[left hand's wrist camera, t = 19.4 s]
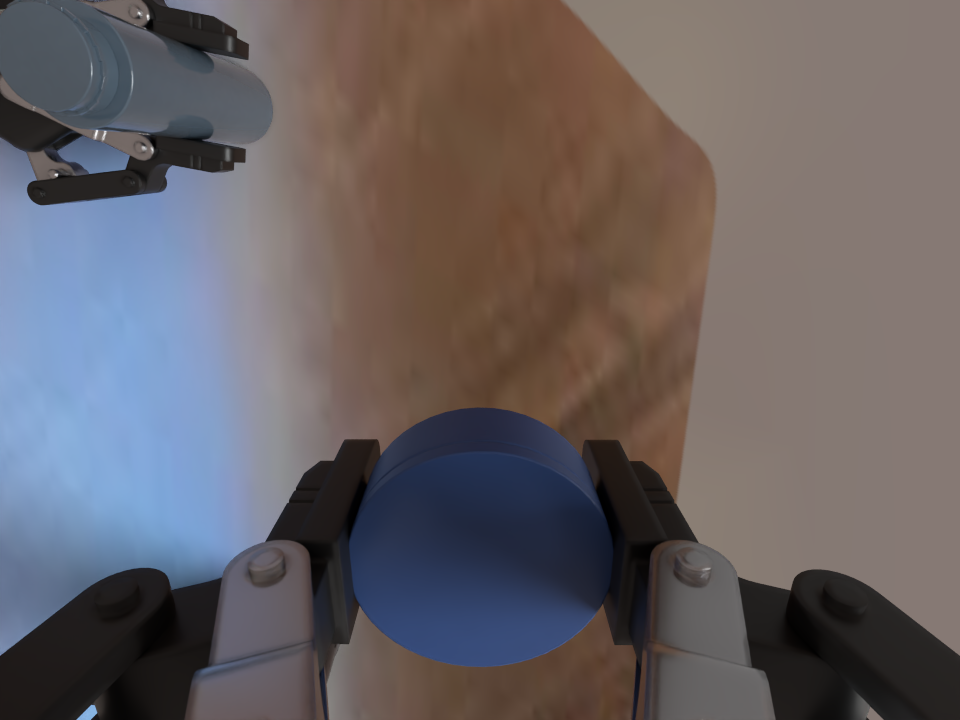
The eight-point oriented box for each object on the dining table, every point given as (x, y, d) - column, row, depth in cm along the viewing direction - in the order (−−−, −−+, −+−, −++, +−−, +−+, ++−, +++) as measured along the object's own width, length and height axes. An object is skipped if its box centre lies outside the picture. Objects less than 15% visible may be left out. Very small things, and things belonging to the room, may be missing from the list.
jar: (285, 128, 33) (130, 97, 19) (225, 155, 33) (30, 145, 19) (250, 53, 31) (55, -41, 17) (188, 83, 32) (-52, 15, 18)
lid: (317, 495, 11) (288, 553, 9) (499, 358, 10) (503, 396, 8) (465, 632, 12) (462, 703, 11) (640, 524, 11) (667, 585, 10)
